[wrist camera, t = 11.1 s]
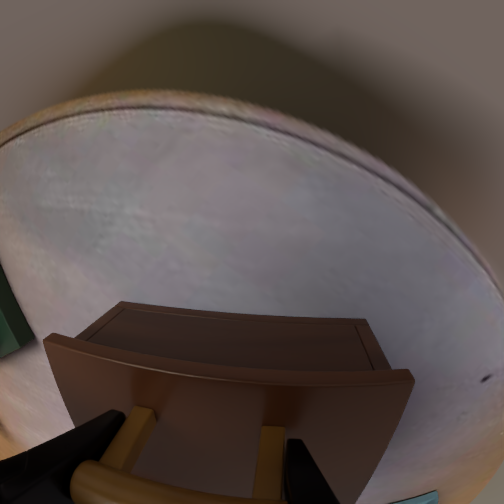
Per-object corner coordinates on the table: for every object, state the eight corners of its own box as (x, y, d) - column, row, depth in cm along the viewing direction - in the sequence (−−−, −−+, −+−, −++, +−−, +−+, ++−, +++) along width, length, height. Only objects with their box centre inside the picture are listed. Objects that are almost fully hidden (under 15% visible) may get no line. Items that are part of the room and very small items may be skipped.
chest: (120, 300, 14) (58, 349, 9) (365, 318, 13) (401, 386, 8) (151, 442, 16) (124, 496, 11) (327, 461, 15) (332, 524, 10)
